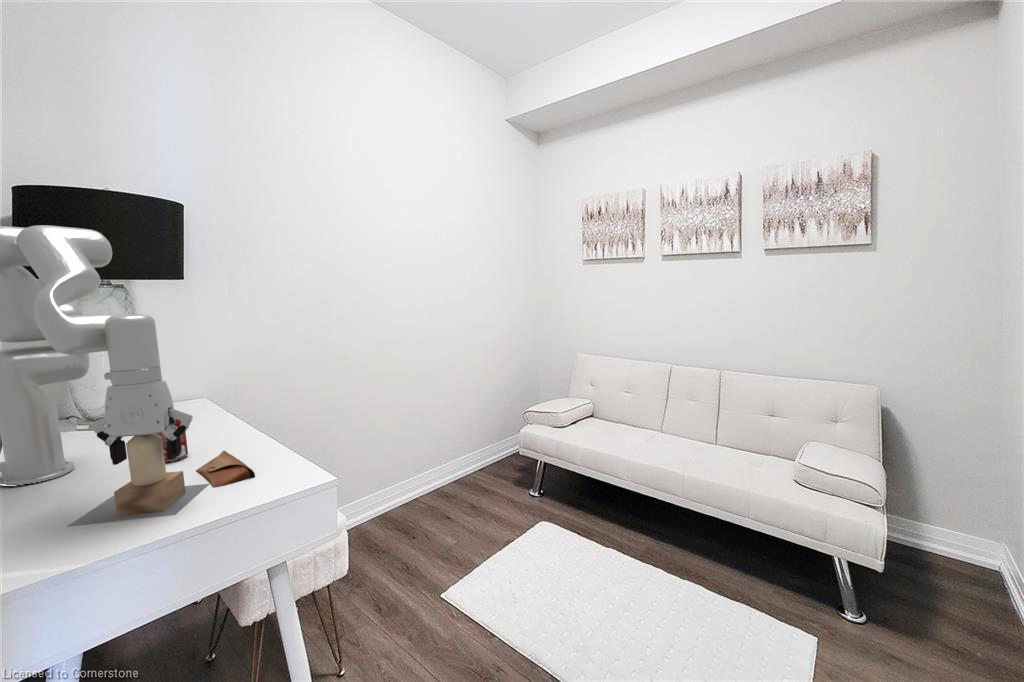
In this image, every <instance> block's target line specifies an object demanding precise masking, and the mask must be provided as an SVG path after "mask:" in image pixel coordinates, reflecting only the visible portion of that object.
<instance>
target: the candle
mask: <svg viewBox="0 0 1024 682" xmlns="http://www.w3.org/2000/svg"><path fill="white" fill-rule="evenodd" d="M125 446H126V453H127V460H128V468H129V473H130V474H129V475H130V481H131V482H132V485H133V486H146V485H150V484H154V483H157V482H160V481H162V480H164V479H165V478H166V473H167V467H166V463H165V459H164V451H163V444H162V437H161V436H159V435H157V434H150V435H138V436H132V437H131V439H129V440H128V441H127V442H125Z"/></svg>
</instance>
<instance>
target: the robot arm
mask: <svg viewBox="0 0 1024 682" xmlns="http://www.w3.org/2000/svg"><path fill="white" fill-rule="evenodd" d="M112 249H113V248H112V245H111V243H110V241H109V240H108V239H107V238H106V236H104V235H103V233H101V232H99V231H97V230H94V229H88V228H80V227H68V226H60V225H48V224H46V225H43V224H41V225H37V224H36V225H31V226H28V227H20V226H6V225H5V226H3V225H0V342H1V343H8V344H9V343H10V344H11V343H14V344H15V343H30V342H31V343H33V342H41V341H42V342H43V341H47V343H48V344H49V345H37V346H25V347H23V346H22V347H14V348H6V349H2V350H0V439H1V444H2V449H3V450H2V451H3V458H4V461H0V473H1V477H0V484H6V485H21V484H29V483H34V484H37V483H36V482H38V483H42V482H41V481H43V482H45V480H46V481H49V479H50V480H53V479H56V478H58V477H61V476H65V475H66V474H68V472H69V473H70V472H72V471H73V470H74V469H75V464H74V462H71V461H65V460H66V459H65V453H64V447H63V441H62V435H61V434H62V433H61V427H60V421H59V414H58V413H59V412H58V408H57V403H56V401H55V399H54V398H53V397H52V396H51V395H50V394H48V393H46V392H44V391H43V390H41V389H40V388H39V387H40V386H47V385H50V384H57V383H65V382H68V381H75V380H79V379H81V378H84V377H85V376H86V375H87V373H88V372H89V368H90V354H92V353H100V352H107V356H108V357H107V358H108V362H109V369H110V370H109V372H104V379H105V380H109V381H110V383H111V385H109V386H107V388H106V393H105V400H104V417H101V418H100V419H98V420H96V421H94V422H92V423H91V424H90V429H92V431H93V432H94V433H95V434H96V437H97V438H98V439H99V440H101V441H103V442H104V445H105V446H108V447H109V456H110V459H111V463H112V465H113V466H116V465H119V464H120V463H122V462H124V461H126V460H128V454H127V447H126V441H125V440H124V439H123V438H124V437H134V436H138V435H150V434H158V433H162V434H164V435H165V436H166V437H167V438H168V439H169V440H168V441H167V442H166V445H167V453H168V459H169V460H173V459H175V458H176V457H178V456H179V455H180V453H181V451H182V449H181V440H180V436H182V435H183V433H184V432H185V431H186V432H187V431H188V429H189V427H190V425H191V423H192V420H193V419H194V417H193V415H191V414H188V413H186V412H183V411H181V410H178V409H175V406H174V402H173V399H172V395H171V392H170V391H171V390H170V388H169V386H168V383H167V381H166V380H163V376H162V369H161V368H162V367H161V359H160V350H159V342H158V337H157V334H158V333H157V328H156V321H155V319H154V318H153V317H152V316H151V315H149V314H132V313H128V312H127V313H126V312H122V313H120V312H118V313H115V312H114V313H91V314H84V312H83V311H82V309H81V308H80V307H79V306H78V305H77V304H75V303H73V302H76V301H78V300H81V299H84V298H85V297H88V296H90V295H91V294H93V293H95V291H96V290H97V289H98V288H99V286H100V284H101V277H100V275H99V273H98V272H97V270H96V268H103V267H105V266H107V265H108V264H110V262H111V261H112V257H113V250H112ZM25 267H31V268H32V270H33V272H35V274H36V276H37V277H38V279H39V280H40V282H41V283H42V284H43V287H42V288H41V287H40V283H39V280H38V279H37V278H36V277H35V276H34V274H32V273H31V272H30V271H29V270H27V268H25ZM175 419H178V420H180V421H181V425H180V427H178V428H177V427H176V426H175ZM122 439H123V440H122ZM5 481H6V482H5ZM29 485H30V484H29Z"/></svg>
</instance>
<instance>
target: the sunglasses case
mask: <svg viewBox="0 0 1024 682" xmlns="http://www.w3.org/2000/svg"><path fill="white" fill-rule="evenodd" d="M195 472H196V473H197V474H199V475H200V476H201V477H203V479H205V480H206V481H207V482H208V484H209V485H210V486H211V487H212V488H215V489H216V488H219V487H225V486H228V485H233V484H235V483H240V482H242V481H246V480H250V479H252V478H256V473H255V472H254V470H253V469H252V468H250V467H249V466H248V465H247V464H246V463H244V462H243V461H242V460H240V459H239V458H237V457H236V456H235V455H232V454H230V453H229V452H227V451H226V450H222V451H221V453H219V454H218V455H217V456H216V457H214V458H212V459H211V460H209V461H207V462H206V463H205V464H203V465H202V466H200V467H198V468H197V469H195Z"/></svg>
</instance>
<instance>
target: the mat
mask: <svg viewBox="0 0 1024 682" xmlns="http://www.w3.org/2000/svg"><path fill="white" fill-rule="evenodd" d="M209 485H210V483H202V484H201V483H200V484H194V485H193V484H192V485H185V492H186V493H185V494H184V495H183V496H182V497H180V498H179V499H178V500H177V501H176V502H175V503H173V504H172V505H171V506H170V507H169V508H167V509H166V510H165V511H163V512H153V513H144V514H135V515H126V516H117V510H116V503H115V495H112V496H110V497H109V498H108V499H106V500H105V501H103V502H101V503H100V504H99V505H97V506H96V507H94V508H92V509H91V510H89V511H88V512H86V513H85V514H84V515H82V516H80V517H79V518H77V519H76V520H75V521H73V522H71V523H70V524H68V525H66V527H77V526H85V525H95V524H96V525H97V524H103V523H104V524H105V523H113V522H120V521H121V522H122V521H123V522H124V521H131V520H133V521H134V520H141V519H149V518H158V517H166V516H168V517H169V516H176V515H177V514H178V513H179V512H181V511H182V510H183V509H184V508H185V507H187V505H188V504H190V502H192V501H193V500H194V499H195V498H196V497H197V496H198V495H200V493H202V491H204V490H205V489H206V488H207V487H208V486H209Z"/></svg>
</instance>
